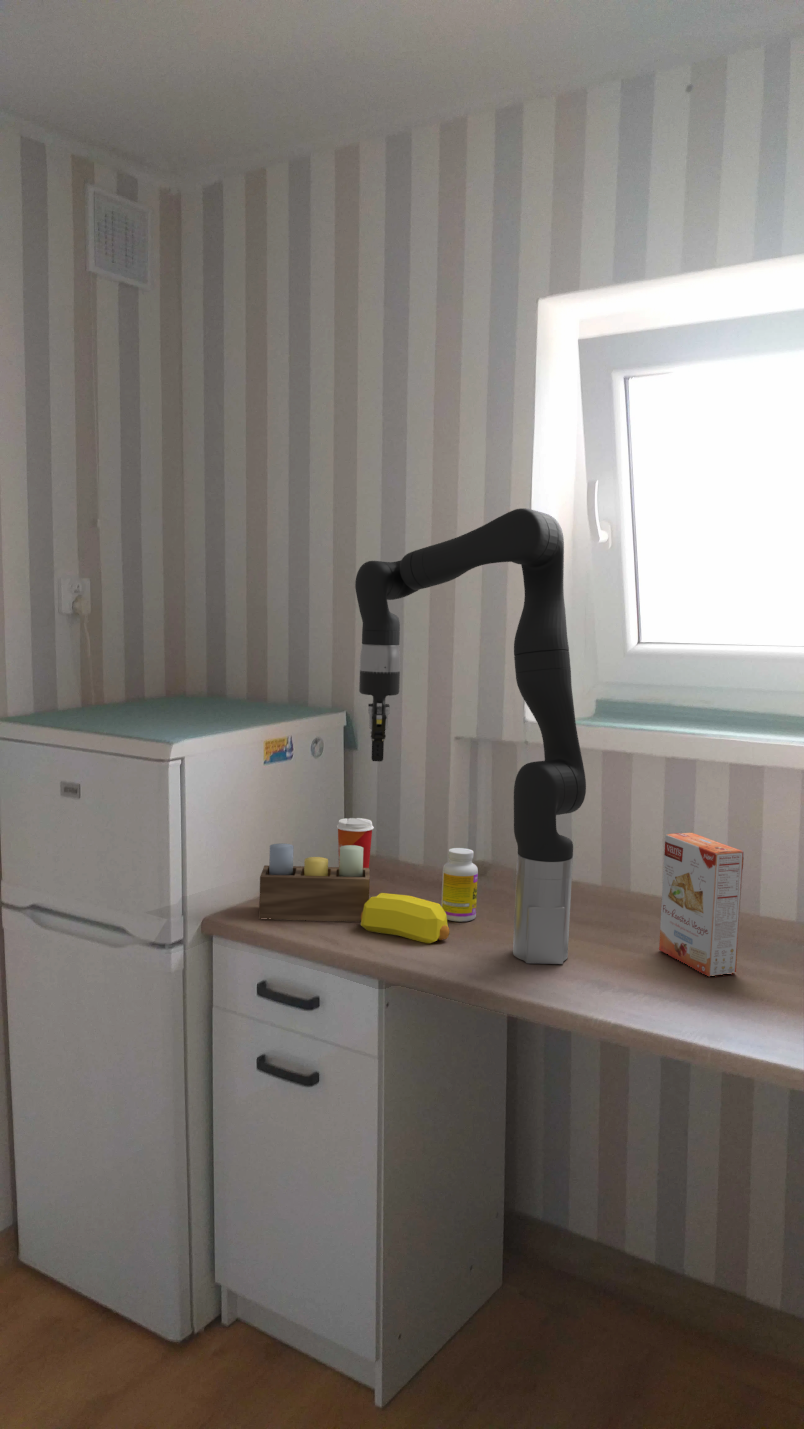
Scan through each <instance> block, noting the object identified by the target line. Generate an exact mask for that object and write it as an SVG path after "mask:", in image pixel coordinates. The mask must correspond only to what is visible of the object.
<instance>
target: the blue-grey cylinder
mask: <svg viewBox="0 0 804 1429" xmlns="http://www.w3.org/2000/svg"><path fill="white" fill-rule="evenodd" d="M268 866H269V875H293V866H294V845H293V844H290V843H273V844H270V845H269V865H268Z"/></svg>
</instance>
